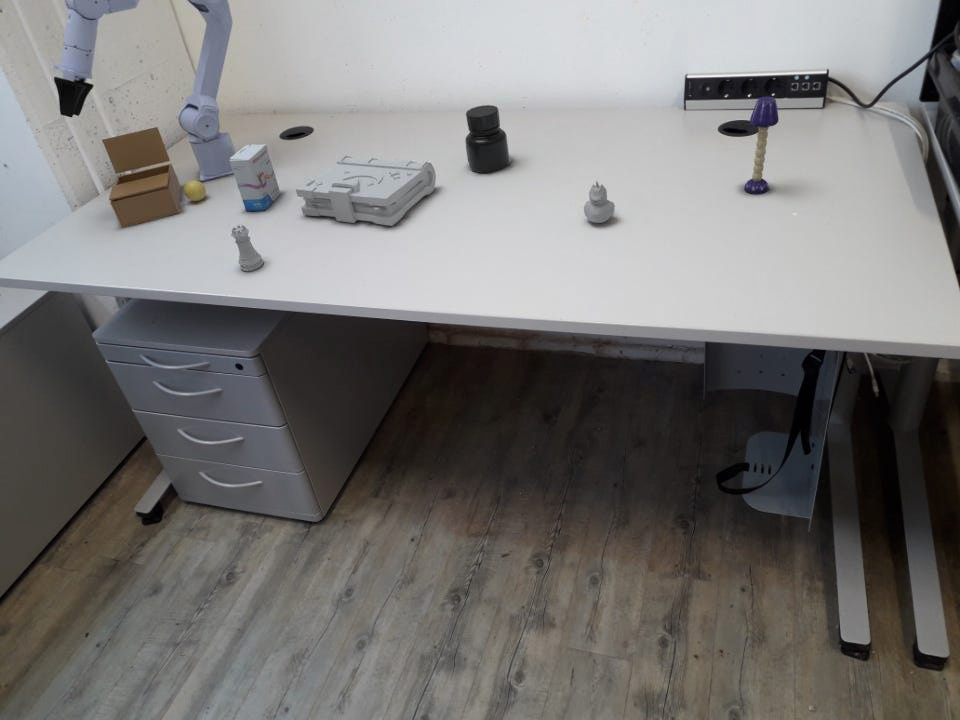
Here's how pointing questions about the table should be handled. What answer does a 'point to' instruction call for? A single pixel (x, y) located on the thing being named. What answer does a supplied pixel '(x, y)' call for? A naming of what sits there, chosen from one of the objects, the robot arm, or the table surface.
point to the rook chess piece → (246, 249)
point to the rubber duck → (598, 205)
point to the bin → (146, 195)
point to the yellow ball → (194, 190)
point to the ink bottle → (486, 140)
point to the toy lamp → (761, 141)
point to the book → (367, 189)
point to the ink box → (255, 177)
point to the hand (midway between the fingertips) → (70, 115)
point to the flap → (136, 150)
